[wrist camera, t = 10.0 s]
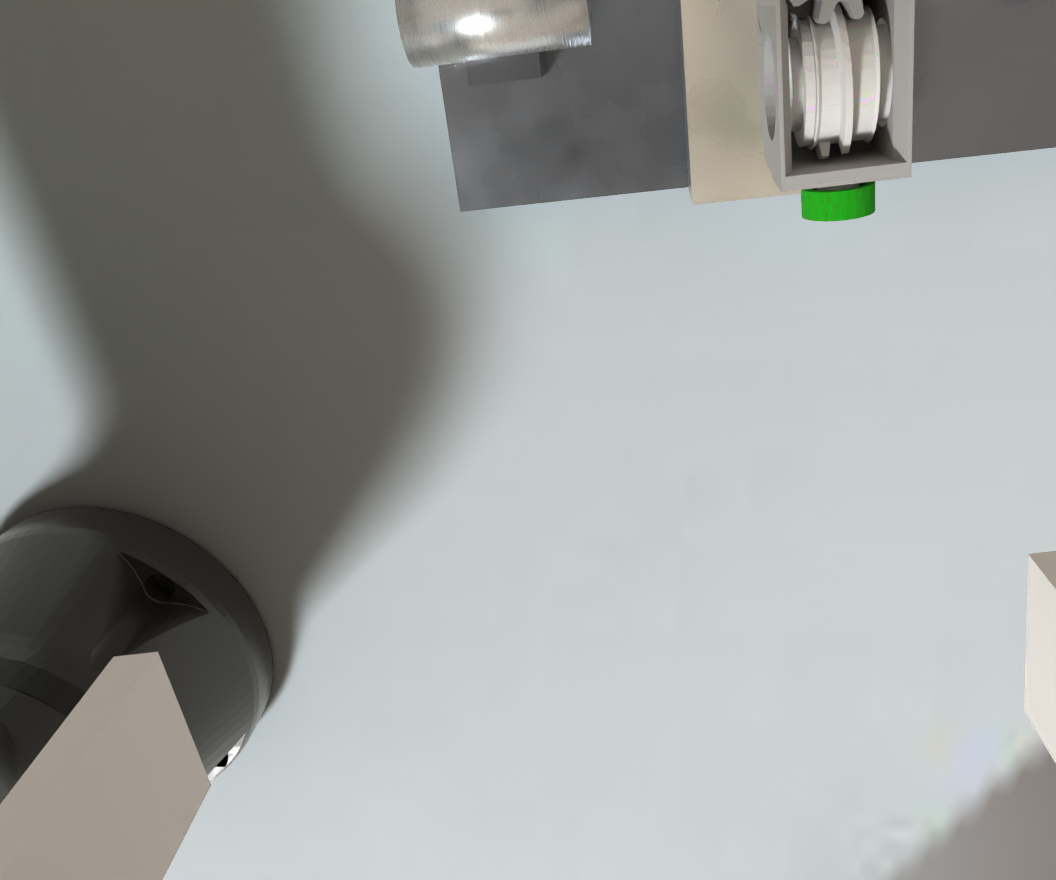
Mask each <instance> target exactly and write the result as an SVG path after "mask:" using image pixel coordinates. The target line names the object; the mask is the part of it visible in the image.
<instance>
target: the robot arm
mask: <svg viewBox="0 0 1056 880" xmlns="http://www.w3.org/2000/svg"><path fill="white" fill-rule="evenodd" d="M272 680H273V662H272V654H271V648H270V644H269V640H268V637H267V633H266V630H265V628H264V625H263V623H262V621H261V618H260V616H259V614H258V612H257V610H256V609H255V607H254V605H253V604H252V602H251V600H250V599H249V597H248V596H247V594H246V593H245V591H244V590H243V589H242V588H241V586H240V585H239V584H238V582H237V581H236V580H235V579H234V578H233V577H232V576H231V575H230V573H229V572H228V571H227V570H226V569H225V568H224V567H223V566H222V565H221V564H220V563H218V562H217V561H216V560H215V559H214V558H213V557H212V556H210V555H209V554H208V553H206V552H205V551H204V550H203V549H201V548H200V547H199V546H197V545H196V544H194V543H193V542H191V541H190V540H188V539H186V538H185V537H183V536H181V535H180V534H178V533H176V532H174V531H172V530H170V529H168V528H166V527H164V526H162V525H160V524H157V523H155V522H152V521H150V520H147V519H144V518H141V517H138V516H135V515H132V514H128V513H124V512H120V511H114V510H108V509H100V508H66V509H58V510H52V511H48V512H44V513H40V514H37V515H35V516H32V517H29V518H27V519H25V520H23V521H21V522H19V523H17V524H15V525H14V526H12V527H11V528H9V529H8V530H6V531H5V532H4V533H3V534H1V535H0V880H162V879H163V877H164V876H165V874H166V872H167V870H168V868H169V866H170V864H171V862H172V860H173V858H174V856H175V854H176V852H177V850H178V848H179V846H180V844H181V842H182V840H183V839H184V837H185V835H186V833H187V831H188V829H189V827H190V825H191V823H192V821H193V819H194V817H195V815H196V813H197V811H198V809H199V807H200V805H201V803H202V801H203V800H204V798H205V796H206V794H207V792H208V790H209V788H210V786H211V784H210V781H211V780H212V779H213V778H215V777H216V776H217V775H219V774H220V773H221V772H222V771H223V770H225V769H226V768H227V767H228V766H229V765H230V764H231V763H232V762H233V760H234V759H235V758H236V757H237V756H238V755H239V753H240V752H241V751H242V749H243V748H244V746H245V745H246V743H247V741H248V740H249V738H250V736H251V734H252V732H253V731H254V729H255V727H256V725H257V723H258V721H259V720H260V718H261V716H262V714H263V712H264V710H265V708H266V705H267V703H268V700H269V697H270V692H271V688H272ZM1024 711H1025V713H1026V715H1027V716H1028V718H1029V720H1030V721H1031V723H1032V725H1033V726H1034V728H1035V730H1036V731H1037V733H1038V735H1039V736H1040V738H1041V740H1042V741H1043V743H1044V745H1045V746H1046V748H1047V750H1048V751H1049V753H1050V755H1051V756H1052V758H1053V760H1054V761H1055V763H1056V551H1051V552H1042V553H1034V554H1028V585H1027V626H1026V667H1025V708H1024Z"/></svg>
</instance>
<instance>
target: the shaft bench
mask: <svg viewBox="0 0 1056 880" xmlns="http://www.w3.org/2000/svg"><path fill="white" fill-rule="evenodd" d="M395 4H396V13H397V20H398V25H399V30H400V35H401V39H402V43H403V46H404V50H405V52H406V55H407V58H408V60H409V62H410V64H411V65H412V66H413V67H414V68H422V67H430V66H437V65H438V67H439V73H440V80H441V86H442V93H443V99H444V106H445V112H446V119H447V126H448V132H449V139H450V145H451V152H452V158H453V165H454V171H455V178H456V185H457V191H458V198H459V204H460V211H470V210H479V209H489V208H498V207H507V206H516V205H526V204H535V203H544V202H553V201H563V200H572V199H581V198H590V197H600V196H609V195H618V194H627V193H637V192H646V191H655V190H664V189H674V188H683V187H689V191H690V196H691V200H692V205H694V204H703V203H713V202H722V201H732V200H741V199H751V198H760V197H770V196H779V195H789V194H798V193H801V190H795V191H787V192H781V191H780V189H779V188H778V186H777V185H776V184H775V182H774V181H773V178H772V172H771V171H770V169H769V168H768V166H767V163H766V159H765V153H764V146H763V137H762V125H761V106H760V81H759V56H758V31H757V6H756V0H395ZM1053 147H1056V0H915V16H914V67H913V118H912V163H914V162H924V161H933V160H942V159H951V158H961V157H970V156H979V155H988V154H998V153H1007V152H1016V151H1025V150H1035V149H1044V148H1053Z"/></svg>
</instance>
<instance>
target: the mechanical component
mask: <svg viewBox="0 0 1056 880" xmlns="http://www.w3.org/2000/svg"><path fill="white" fill-rule="evenodd" d="M756 6H757V31H758V56H759V81H760V106H761V125H762V137H763V146H764V153H765V159H766V163H767V166H768V168H769V169H770V171H771V172H772V178H773V181H774V182H775V184H776V185H777V186H778V188H779V189H780V191H781V192H787V191H795V190H801V201H802V218H804V219H807V220H813V221H841V220H849V219H856V218H860V217H864V216H867V215H870V214H872V213H874V211H875V181H880V180H889V179H897V178H906V177H911V169H912V118H913V67H914V16H915V0H756Z"/></svg>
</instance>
